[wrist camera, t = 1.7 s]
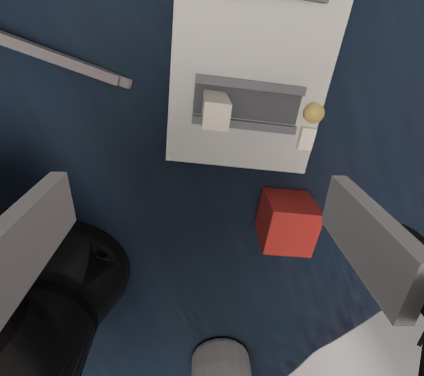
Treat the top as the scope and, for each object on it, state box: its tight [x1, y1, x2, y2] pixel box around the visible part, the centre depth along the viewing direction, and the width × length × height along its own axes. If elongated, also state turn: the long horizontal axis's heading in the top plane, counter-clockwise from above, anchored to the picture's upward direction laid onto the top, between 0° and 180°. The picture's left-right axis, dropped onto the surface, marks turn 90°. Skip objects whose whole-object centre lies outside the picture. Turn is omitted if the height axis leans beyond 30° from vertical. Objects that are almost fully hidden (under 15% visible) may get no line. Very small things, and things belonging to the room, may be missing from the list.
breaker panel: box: [166, 0, 353, 174], centre depth 28 cm, size 16×26×3 cm, turn 173°
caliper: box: [0, 30, 133, 89], centre depth 26 cm, size 20×1×6 cm, turn 68°
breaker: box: [201, 89, 232, 132], centre depth 27 cm, size 2×2×7 cm
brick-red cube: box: [255, 187, 323, 258], centre depth 36 cm, size 6×6×6 cm
